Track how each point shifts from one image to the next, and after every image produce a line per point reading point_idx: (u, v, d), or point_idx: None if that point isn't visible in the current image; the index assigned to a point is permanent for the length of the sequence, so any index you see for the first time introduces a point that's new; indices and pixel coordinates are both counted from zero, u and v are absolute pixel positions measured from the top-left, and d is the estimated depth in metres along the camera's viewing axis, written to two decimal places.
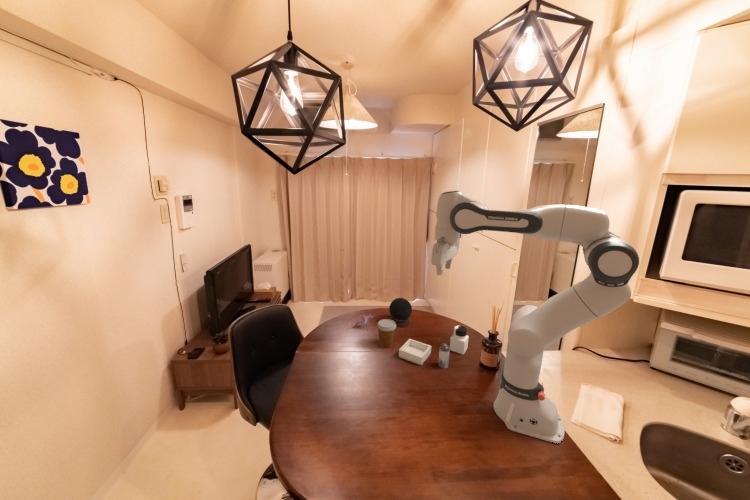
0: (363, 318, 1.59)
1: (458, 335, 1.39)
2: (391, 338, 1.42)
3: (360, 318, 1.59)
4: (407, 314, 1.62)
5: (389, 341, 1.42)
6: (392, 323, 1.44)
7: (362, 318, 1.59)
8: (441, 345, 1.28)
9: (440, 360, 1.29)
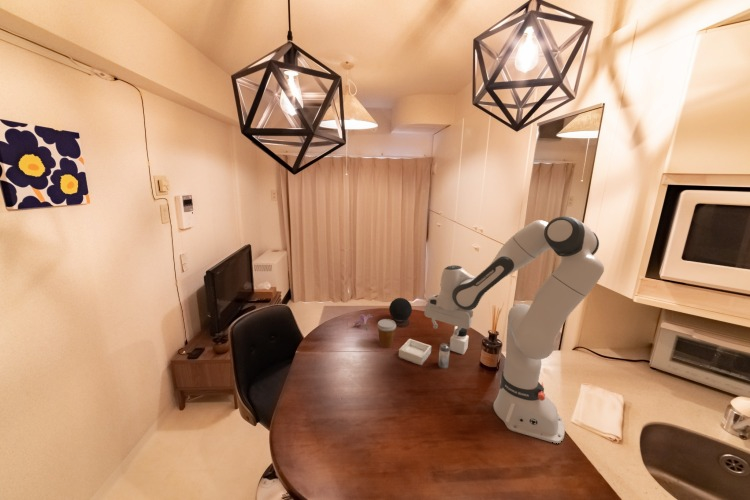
0: (362, 318, 1.59)
1: (458, 335, 1.39)
2: (391, 338, 1.42)
3: (359, 318, 1.59)
4: (407, 314, 1.62)
5: (389, 341, 1.42)
6: (392, 323, 1.44)
7: (361, 318, 1.59)
8: (441, 345, 1.28)
9: (440, 360, 1.29)
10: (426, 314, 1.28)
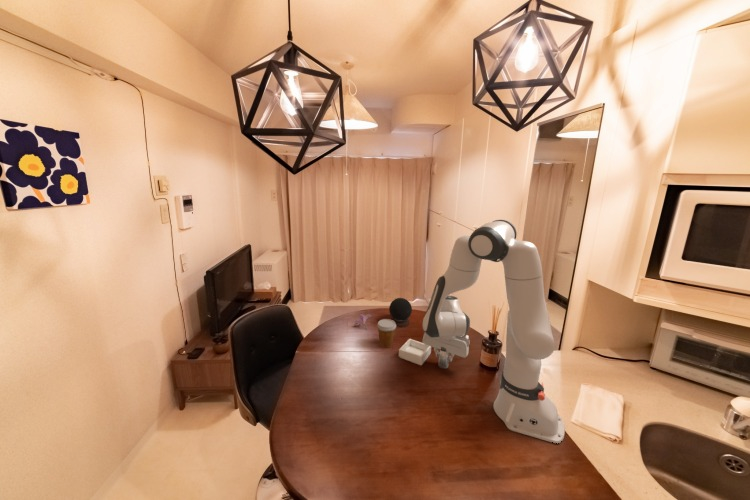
0: (362, 318, 1.60)
1: None
2: (391, 338, 1.42)
3: (359, 318, 1.59)
4: (407, 314, 1.62)
5: (389, 341, 1.42)
6: (392, 323, 1.44)
7: (361, 318, 1.59)
8: None
9: (440, 360, 1.29)
10: (424, 342, 1.31)
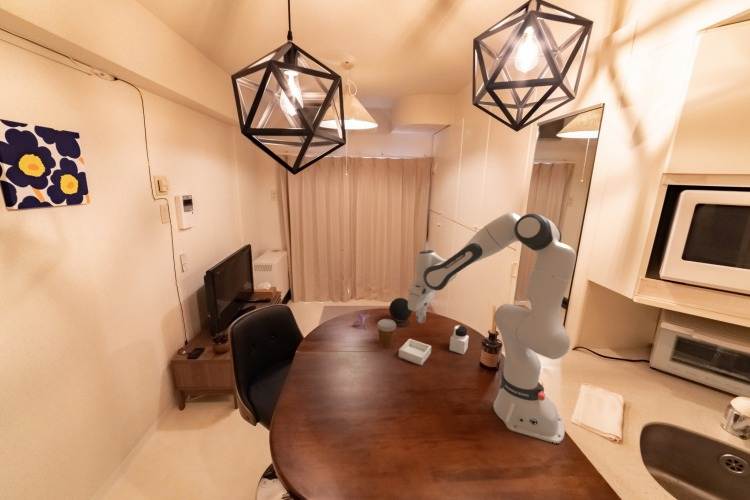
0: (361, 317, 1.60)
1: (458, 335, 1.39)
2: (391, 338, 1.42)
3: (358, 318, 1.59)
4: (407, 314, 1.62)
5: (389, 341, 1.42)
6: (392, 323, 1.44)
7: (360, 317, 1.60)
8: None
9: (424, 315, 1.32)
10: (416, 308, 1.24)
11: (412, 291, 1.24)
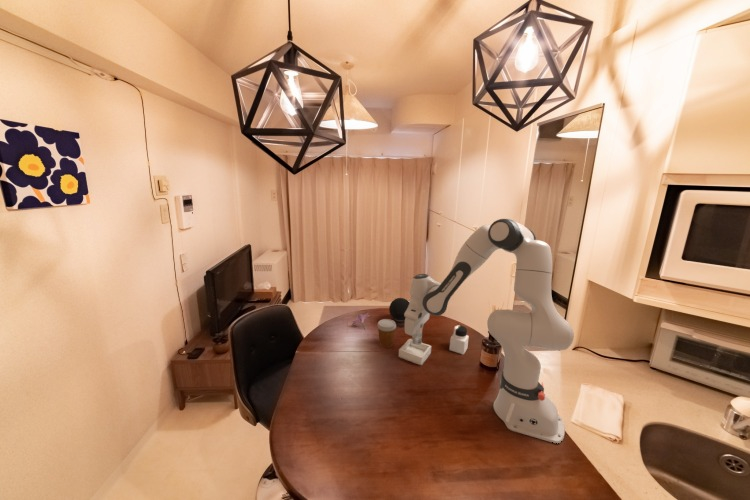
0: (360, 317, 1.60)
1: (458, 335, 1.39)
2: (391, 338, 1.42)
3: (357, 317, 1.59)
4: None
5: (389, 341, 1.42)
6: (392, 323, 1.44)
7: (359, 317, 1.60)
8: None
9: (420, 337, 1.34)
10: (413, 332, 1.26)
11: (408, 316, 1.26)
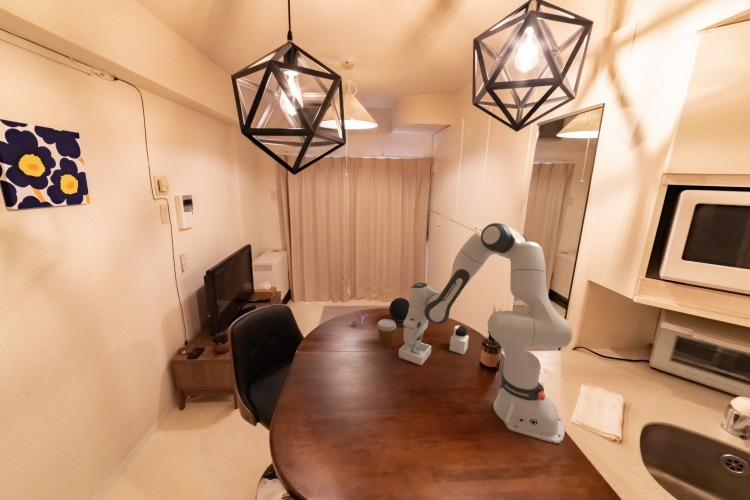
0: (359, 317, 1.60)
1: (458, 335, 1.39)
2: (391, 338, 1.42)
3: (357, 317, 1.59)
4: None
5: (389, 341, 1.42)
6: (392, 323, 1.44)
7: (359, 317, 1.60)
8: None
9: (418, 349, 1.35)
10: (412, 342, 1.27)
11: (407, 325, 1.26)
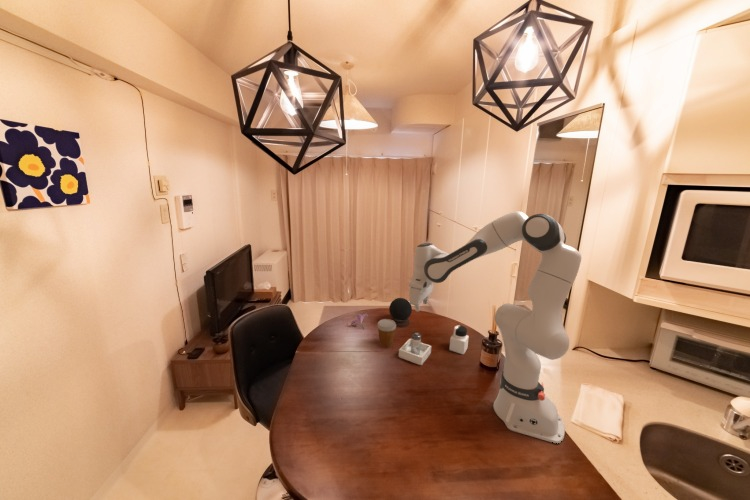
0: (359, 317, 1.60)
1: (458, 335, 1.39)
2: (391, 338, 1.42)
3: (356, 317, 1.59)
4: (407, 314, 1.62)
5: (389, 341, 1.42)
6: (392, 323, 1.44)
7: (358, 317, 1.60)
8: (416, 336, 1.34)
9: (418, 349, 1.35)
10: (418, 302, 1.23)
11: (413, 285, 1.23)
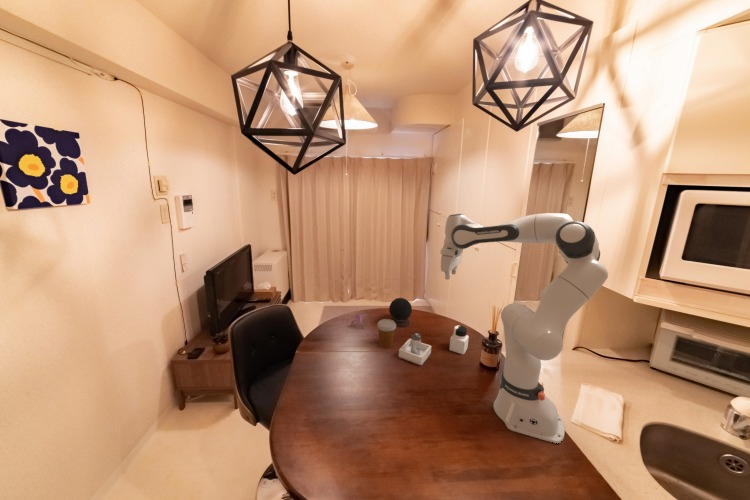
0: (358, 317, 1.60)
1: (458, 335, 1.39)
2: (391, 338, 1.42)
3: (355, 317, 1.60)
4: (407, 314, 1.62)
5: (389, 341, 1.42)
6: (392, 323, 1.44)
7: (357, 317, 1.60)
8: (416, 336, 1.33)
9: (418, 349, 1.35)
10: (449, 269, 1.28)
11: (445, 253, 1.28)
